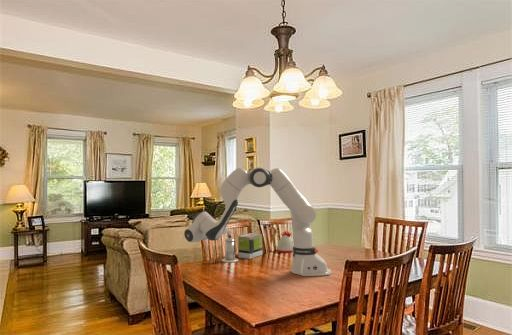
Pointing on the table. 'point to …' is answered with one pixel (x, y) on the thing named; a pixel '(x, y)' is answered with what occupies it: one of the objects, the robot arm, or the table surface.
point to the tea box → (250, 245)
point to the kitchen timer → (285, 243)
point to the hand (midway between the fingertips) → (219, 228)
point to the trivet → (230, 260)
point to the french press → (230, 248)
